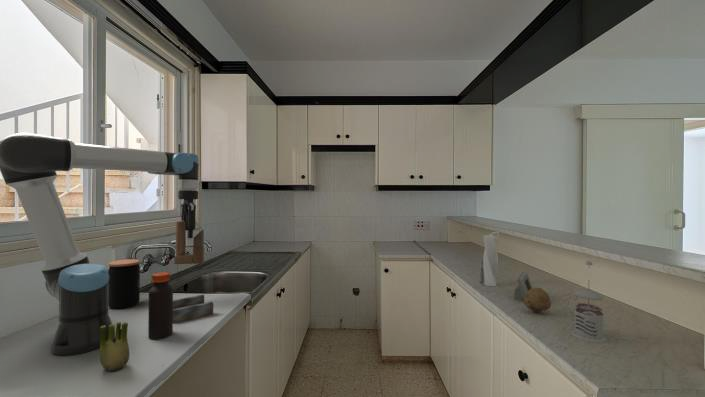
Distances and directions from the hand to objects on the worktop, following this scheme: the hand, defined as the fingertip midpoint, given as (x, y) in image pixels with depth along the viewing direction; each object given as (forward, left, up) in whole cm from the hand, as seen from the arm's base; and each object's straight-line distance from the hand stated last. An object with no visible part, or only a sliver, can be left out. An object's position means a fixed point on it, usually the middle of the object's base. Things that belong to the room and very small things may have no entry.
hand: (187, 244), depth 136 cm
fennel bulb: (-28, -44, -25) cm, 58 cm away
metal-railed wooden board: (-3, -14, -25) cm, 28 cm away
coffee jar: (-21, +13, -25) cm, 35 cm away
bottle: (-15, -29, -25) cm, 41 cm away
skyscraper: (+129, -68, -25) cm, 148 cm away
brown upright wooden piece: (+1, 0, -8) cm, 8 cm away
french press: (+94, -118, -25) cm, 153 cm away
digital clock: (+120, -89, -25) cm, 152 cm away
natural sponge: (+104, -100, -25) cm, 146 cm away
